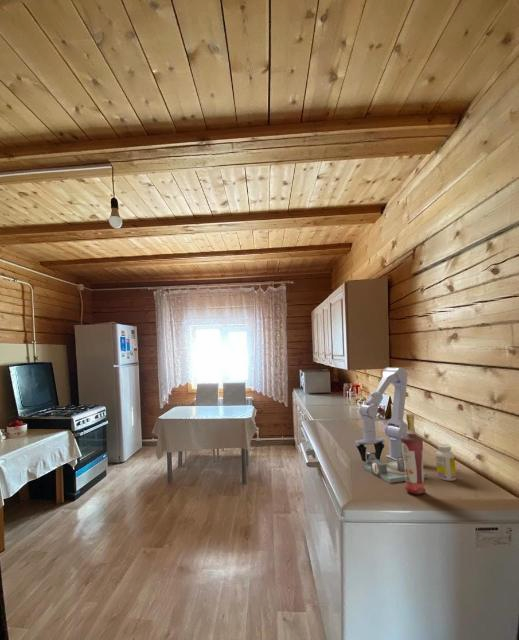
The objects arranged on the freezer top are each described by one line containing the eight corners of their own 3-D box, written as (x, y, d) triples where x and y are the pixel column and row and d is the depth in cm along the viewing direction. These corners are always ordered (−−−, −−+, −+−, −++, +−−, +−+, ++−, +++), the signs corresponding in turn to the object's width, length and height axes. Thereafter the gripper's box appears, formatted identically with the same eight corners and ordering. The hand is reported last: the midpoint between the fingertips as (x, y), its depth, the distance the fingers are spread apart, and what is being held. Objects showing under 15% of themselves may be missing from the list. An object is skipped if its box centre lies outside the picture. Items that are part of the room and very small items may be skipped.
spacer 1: (372, 461, 159) (371, 451, 160) (378, 464, 155) (377, 453, 155) (364, 462, 158) (363, 451, 159) (369, 465, 154) (369, 454, 154)
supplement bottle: (454, 476, 138) (451, 444, 140) (458, 482, 132) (455, 448, 133) (436, 474, 140) (433, 443, 142) (439, 480, 134) (436, 447, 136)
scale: (398, 464, 155) (397, 452, 155) (427, 477, 137) (426, 464, 138) (363, 468, 150) (362, 456, 150) (388, 483, 132) (387, 469, 133)
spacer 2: (404, 468, 143) (403, 455, 144) (411, 471, 139) (410, 458, 139) (395, 469, 142) (394, 457, 142) (402, 472, 138) (401, 460, 138)
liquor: (431, 495, 120) (425, 415, 123) (413, 497, 119) (407, 417, 122) (417, 487, 127) (412, 412, 130) (400, 489, 126) (395, 413, 129)
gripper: (377, 427, 164) (379, 456, 162) (351, 429, 160) (352, 459, 159) (386, 430, 157) (388, 460, 156) (359, 432, 153) (360, 463, 152)
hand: (370, 460), depth 157 cm, fingers open, 7 cm apart
